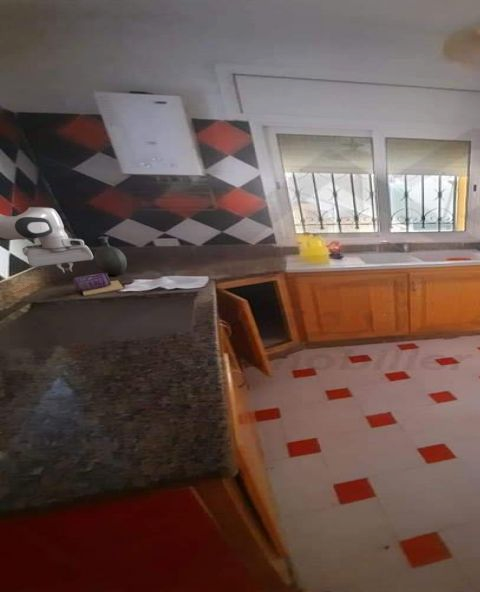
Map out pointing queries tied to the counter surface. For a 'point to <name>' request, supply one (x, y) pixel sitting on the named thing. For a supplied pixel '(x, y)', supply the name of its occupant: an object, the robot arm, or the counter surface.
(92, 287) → the beverage can
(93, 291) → the mat
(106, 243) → the flask
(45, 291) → the counter surface
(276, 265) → the counter surface
